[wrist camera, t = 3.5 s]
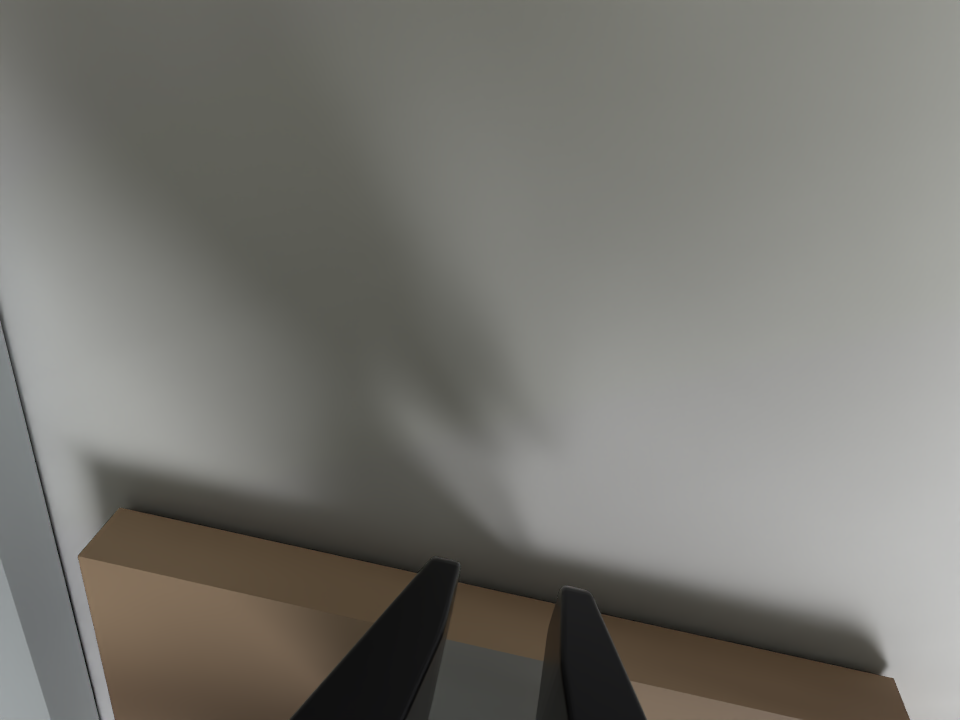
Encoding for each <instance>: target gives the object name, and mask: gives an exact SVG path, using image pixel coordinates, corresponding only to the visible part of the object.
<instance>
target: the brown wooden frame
mask: <svg viewBox="0 0 960 720" xmlns="http://www.w3.org/2000/svg"><path fill="white" fill-rule="evenodd" d="M78 560H79V564H80V569H81V573H82V577H83V582H84V586H85V591H86V595H87V599H88V604H89V608H90V612H91V617H92V621H93V626H94V630H95V634H96V639H97V643H98V647H99V652H100V656H101V661H102V665H103V669H104V674H105V678H106V683H107V687H108V691H109V696H110V700H111V704H112V709H113V713H114V718H115V720H289V719H290V718H291V717H292V715H293V714H294V713H295V712H296V711H297V710H298V709H299V707H300V706H301V705H302V704H303V703H304V702H305V701H306V700H307V698H308V697H309V696H310V695H311V694H312V693H313V692H314V690H315V689H316V688H317V687H318V686H319V685H320V684H321V683H322V681H323V680H324V679H325V678H326V677H327V676H328V675H329V673H330V672H331V671H332V670H333V669H334V668H335V667H336V665H337V664H338V663H339V662H340V661H341V660H342V659H343V658H344V656H345V655H346V654H347V653H348V652H349V651H350V650H351V648H352V647H353V646H354V645H355V644H356V643H357V642H358V641H359V639H360V638H361V637H362V636H363V635H364V634H365V633H366V631H367V630H368V629H369V628H370V627H371V626H372V625H373V623H374V622H375V621H376V620H377V619H378V618H379V617H380V616H381V614H382V613H383V612H384V611H385V610H386V609H387V608H388V606H389V605H390V604H391V603H392V602H393V601H394V600H395V599H396V597H397V596H398V595H399V594H400V593H401V592H402V591H403V589H404V588H405V587H406V586H407V585H408V584H409V583H410V582H411V580H412V579H413V578H414V577H415V576H416V575H417V574H418V573H414V572H409V571H405V570H400V569H396V568H391V567H387V566H382V565H378V564H373V563H369V562H364V561H360V560H355V559H351V558H346V557H342V556H337V555H333V554H328V553H323V552H319V551H314V550H310V549H305V548H301V547H296V546H292V545H287V544H283V543H278V542H274V541H269V540H265V539H260V538H256V537H251V536H246V535H242V534H237V533H233V532H228V531H224V530H219V529H215V528H210V527H206V526H201V525H197V524H192V523H188V522H183V521H179V520H174V519H170V518H165V517H160V516H156V515H151V514H147V513H142V512H138V511H133V510H129V509H124V508H119V509H118V510H117V511H116V512H115V513H114V515H113V516H112V517H111V518H110V519H109V520H108V521H107V523H106V524H105V525H104V526H103V527H102V528H101V530H100V531H99V532H98V533H97V534H96V535H95V536H94V538H93V539H92V540H91V541H90V542H89V543H88V545H87V546H86V547H85V548H84V549H83V550H82V552H81V553H80V554H79V555H78ZM554 607H555V604H554V603H550V602H545V601H541V600H536V599H532V598H527V597H523V596H518V595H514V594H509V593H505V592H500V591H496V590H491V589H486V588H482V587H477V586H473V585H468V584H464V583H459V582H458V585H457V591H456V596H455V601H454V606H453V611H452V616H451V620H450V625H449V629H448V634H447V638H446V643H445V647H444V652H443V656H442V661H441V665H440V670H439V674H438V679H437V683H436V688H435V692H434V697H433V701H432V706H431V710H430V714H429V717H428V720H536V714H537V706H538V698H539V691H540V683H541V676H542V668H543V661H544V653H545V646H546V638H547V632H548V627H549V623H550V620H551V617H552V613H553V610H554ZM601 616H602V618H603V620H604V622H605V625H606V627H607V629H608V632H609V634H610V636H611V638H612V641H613V643H614V645H615V647H616V650H617V652H618V654H619V657H620V659H621V661H622V663H623V666H624V668H625V670H626V672H627V675H628V677H629V679H630V682H631V684H632V686H633V688H634V691H635V693H636V695H637V697H638V700H639V702H640V704H641V707H642V709H643V711H644V713H645V716H646V718H647V720H910V719H909V716H908V714H907V711H906V709H905V706H904V703H903V701H902V698H901V696H900V693H899V691H898V688H897V686H896V683H895V681H894V678H889V677H885V676H880V675H876V674H871V673H867V672H862V671H858V670H853V669H849V668H844V667H840V666H835V665H831V664H826V663H822V662H817V661H812V660H808V659H803V658H799V657H794V656H790V655H785V654H781V653H776V652H772V651H767V650H763V649H758V648H754V647H749V646H745V645H740V644H736V643H731V642H726V641H722V640H717V639H713V638H708V637H704V636H699V635H695V634H690V633H686V632H681V631H677V630H672V629H668V628H663V627H659V626H654V625H649V624H645V623H640V622H636V621H631V620H627V619H622V618H618V617H613V616H609V615H604V614H601Z"/></svg>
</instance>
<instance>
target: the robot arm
mask: <svg viewBox="0 0 960 720" xmlns="http://www.w3.org/2000/svg"><path fill="white" fill-rule="evenodd" d="M460 569H461V565H460V563H459V562H458V561H455V560H451V559H446V558H442V557H433V558H431V559H430V560H429V561H428V562H427V563H426V564H425V566H424V567H423V568H422V569H421V570H420V571H419V572H418V574H417V575H416V576H415V577H414V578H413V579H412V580H411V582H410V583H409V584H408V585H407V586H406V587H405V588H404V589H403V591H402V592H401V593H400V594H399V595H398V596H397V597H396V599H395V600H394V601H393V602H392V603H391V604H390V605H389V606H388V608H387V609H386V610H385V611H384V612H383V613H382V614H381V616H380V617H379V618H378V619H377V620H376V621H375V622H374V623H373V625H372V626H371V627H370V628H369V629H368V630H367V631H366V633H365V634H364V635H363V636H362V637H361V638H360V639H359V641H358V642H357V643H356V644H355V645H354V646H353V647H352V648H351V650H350V651H349V652H348V653H347V654H346V655H345V656H344V658H343V659H342V660H341V661H340V662H339V663H338V664H337V665H336V667H335V668H334V669H333V670H332V671H331V672H330V673H329V675H328V676H327V677H326V678H325V679H324V680H323V681H322V683H321V684H320V685H319V686H318V687H317V688H316V689H315V690H314V692H313V693H312V694H311V695H310V696H309V697H308V698H307V700H306V701H305V702H304V703H303V704H302V705H301V706H300V707H299V709H298V710H297V711H296V712H295V713H294V714H293V715H292V717H291V718H290V719H289V720H428V717H429V714H430V710H431V706H432V701H433V697H434V692H435V688H436V683H437V679H438V674H439V670H440V665H441V661H442V656H443V652H444V647H445V643H446V638H447V634H448V629H449V625H450V620H451V616H452V611H453V606H454V601H455V596H456V591H457V585H458V580H459V575H460ZM536 720H647V718H646V716H645V713H644V711H643V709H642V707H641V704H640V702H639V700H638V697H637V695H636V693H635V691H634V688H633V686H632V684H631V682H630V679H629V677H628V675H627V672H626V670H625V668H624V666H623V663H622V661H621V659H620V657H619V654H618V652H617V650H616V647H615V645H614V643H613V641H612V638H611V636H610V634H609V632H608V629H607V627H606V625H605V622H604V620H603V618H602V616H601V613H600V611H599V609H598V606H597V604H596V602H595V600H594V598H593V596H592V594H591V593H590V592H589V591H588V590H585V589H580V588H576V587H571V586H567V585H566V586H562V587H561V588H560V590H559V593H558V597H557V600H556V603H555V607H554V610H553V613H552V617H551V620H550V623H549V627H548V632H547V638H546V646H545V653H544V661H543V668H542V676H541V683H540V691H539V698H538V706H537V714H536Z"/></svg>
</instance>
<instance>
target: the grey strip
mask: <svg viewBox="0 0 960 720" xmlns="http://www.w3.org/2000/svg"><path fill="white" fill-rule="evenodd" d="M0 720H99V717H98V712H97V708H96V704H95V700H94V696H93V692H92V688H91V684H90V680H89V676H88V672H87V668H86V664H85V660H84V656H83V652H82V648H81V644H80V640H79V636H78V632H77V628H76V624H75V620H74V616H73V612H72V608H71V604H70V600H69V596H68V592H67V588H66V584H65V580H64V576H63V572H62V568H61V564H60V560H59V556H58V552H57V548H56V543H55V539H54V535H53V531H52V527H51V523H50V519H49V515H48V511H47V507H46V503H45V499H44V495H43V491H42V487H41V483H40V479H39V475H38V471H37V467H36V463H35V459H34V455H33V451H32V447H31V443H30V439H29V435H28V431H27V427H26V423H25V419H24V415H23V411H22V407H21V403H20V399H19V395H18V391H17V387H16V383H15V378H14V374H13V370H12V366H11V362H10V358H9V354H8V350H7V346H6V342H5V338H4V334H3V330H2V326H1V322H0Z"/></svg>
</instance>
